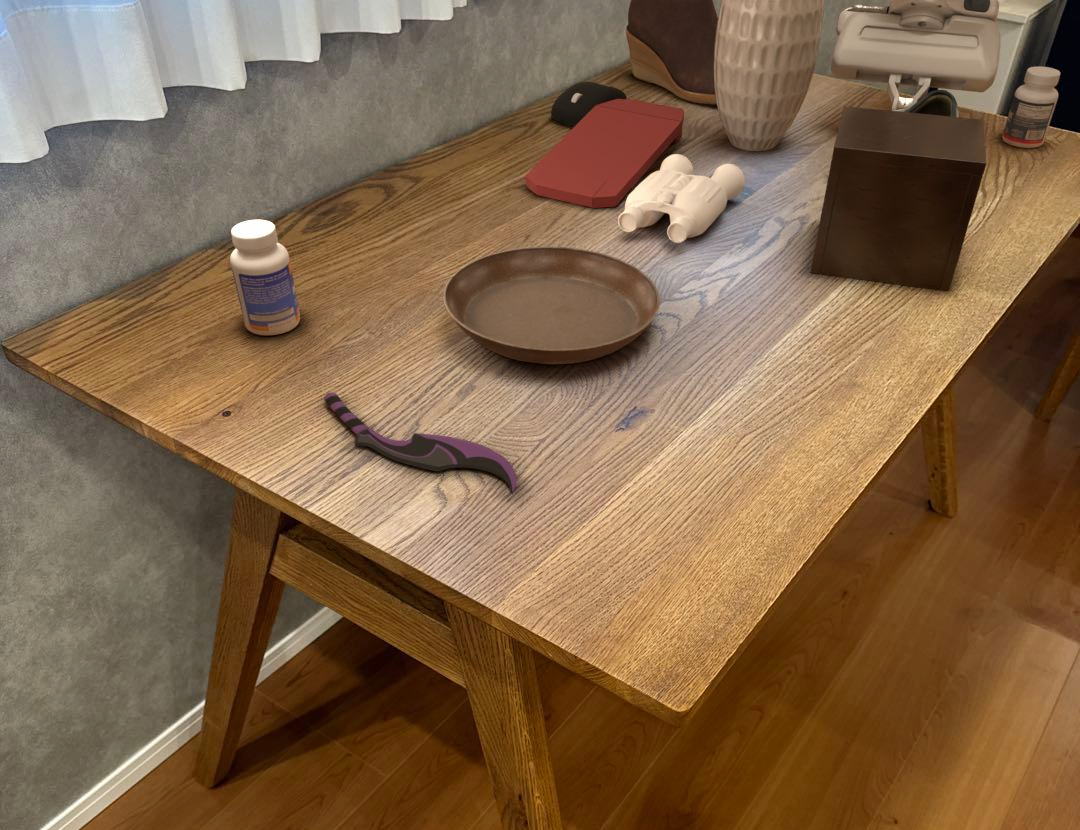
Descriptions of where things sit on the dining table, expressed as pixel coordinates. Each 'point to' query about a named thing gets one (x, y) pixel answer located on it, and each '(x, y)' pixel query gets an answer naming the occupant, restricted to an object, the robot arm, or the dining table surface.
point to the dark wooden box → (899, 197)
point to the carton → (606, 153)
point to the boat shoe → (935, 104)
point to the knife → (426, 448)
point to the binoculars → (681, 198)
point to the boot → (674, 46)
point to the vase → (764, 66)
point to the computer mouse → (582, 101)
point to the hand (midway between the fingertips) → (902, 114)
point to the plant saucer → (551, 303)
